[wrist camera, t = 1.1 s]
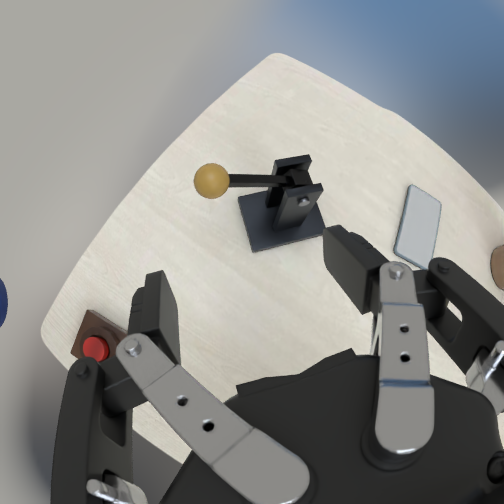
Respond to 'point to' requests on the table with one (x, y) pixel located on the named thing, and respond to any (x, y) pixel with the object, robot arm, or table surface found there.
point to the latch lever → (244, 180)
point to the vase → (498, 266)
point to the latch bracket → (283, 210)
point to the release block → (98, 333)
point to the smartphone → (418, 228)
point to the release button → (96, 348)
